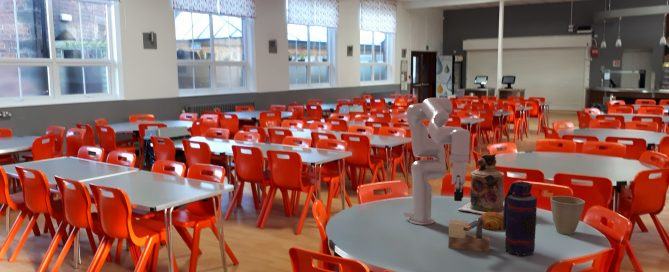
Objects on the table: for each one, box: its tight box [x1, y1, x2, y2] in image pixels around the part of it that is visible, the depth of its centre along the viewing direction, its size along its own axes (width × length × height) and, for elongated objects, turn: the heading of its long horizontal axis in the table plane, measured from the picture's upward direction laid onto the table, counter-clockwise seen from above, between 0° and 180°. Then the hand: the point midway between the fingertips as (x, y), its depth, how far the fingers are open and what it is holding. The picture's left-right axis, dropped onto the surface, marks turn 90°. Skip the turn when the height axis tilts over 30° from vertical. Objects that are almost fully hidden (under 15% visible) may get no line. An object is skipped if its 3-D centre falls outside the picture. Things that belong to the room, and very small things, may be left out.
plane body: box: [448, 224, 491, 253], centre depth 228 cm, size 17×5×11 cm, turn 71°
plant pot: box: [550, 195, 586, 236], centre depth 249 cm, size 15×15×16 cm
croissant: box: [478, 211, 504, 231], centre depth 260 cm, size 14×16×8 cm
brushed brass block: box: [448, 219, 468, 238], centre depth 230 cm, size 7×6×6 cm
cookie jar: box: [457, 152, 505, 215], centre depth 288 cm, size 25×25×32 cm
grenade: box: [503, 180, 538, 257], centre depth 223 cm, size 14×12×30 cm
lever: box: [463, 217, 483, 232], centre depth 221 cm, size 16×3×2 cm, turn 142°
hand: (458, 198), depth 228 cm, fingers open, 5 cm apart
